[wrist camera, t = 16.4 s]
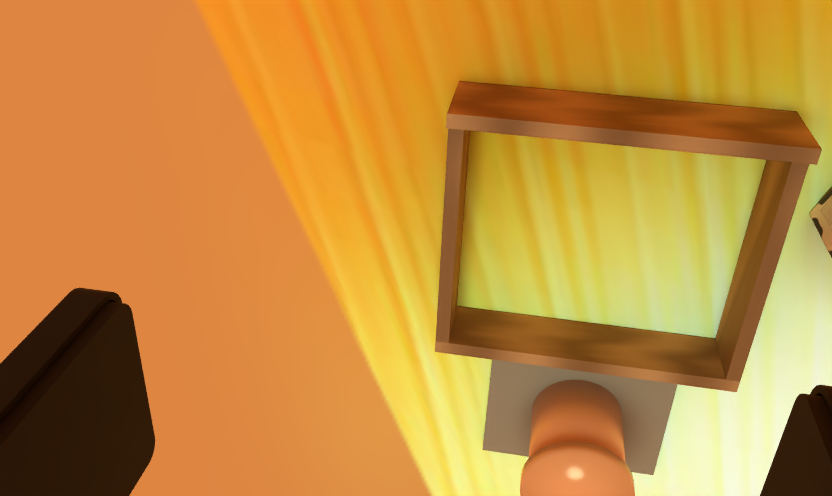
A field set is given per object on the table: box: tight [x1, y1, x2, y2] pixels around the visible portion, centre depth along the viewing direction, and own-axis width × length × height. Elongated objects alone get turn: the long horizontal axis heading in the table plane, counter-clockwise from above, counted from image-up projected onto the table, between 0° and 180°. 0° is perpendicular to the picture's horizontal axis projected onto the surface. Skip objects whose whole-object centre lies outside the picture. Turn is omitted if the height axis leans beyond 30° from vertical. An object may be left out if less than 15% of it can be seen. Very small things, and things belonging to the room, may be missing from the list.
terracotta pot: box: [520, 380, 635, 496], centre depth 51 cm, size 7×7×7 cm
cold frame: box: [435, 81, 822, 392], centre depth 45 cm, size 18×16×5 cm
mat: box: [483, 360, 677, 475], centre depth 55 cm, size 12×9×1 cm
